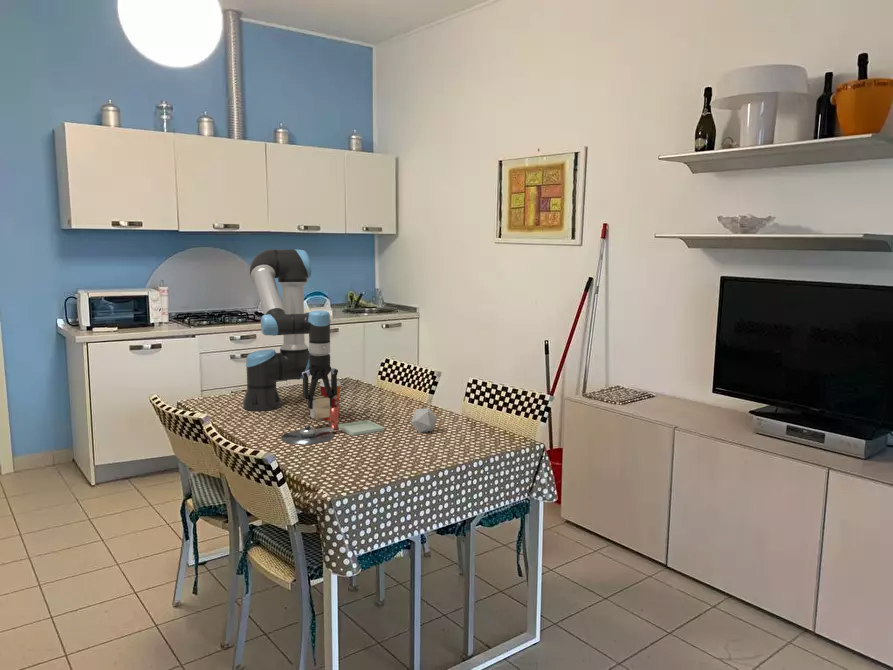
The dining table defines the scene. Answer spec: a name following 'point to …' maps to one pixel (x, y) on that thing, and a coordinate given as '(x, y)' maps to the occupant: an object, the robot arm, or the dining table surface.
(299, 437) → the base plate
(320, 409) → the block
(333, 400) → the coffee cup
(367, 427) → the tray
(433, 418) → the die
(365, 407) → the dining table surface
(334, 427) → the crank
